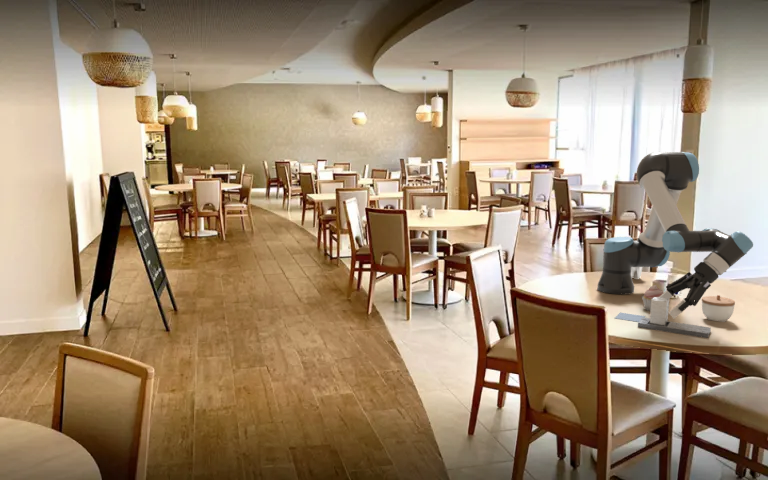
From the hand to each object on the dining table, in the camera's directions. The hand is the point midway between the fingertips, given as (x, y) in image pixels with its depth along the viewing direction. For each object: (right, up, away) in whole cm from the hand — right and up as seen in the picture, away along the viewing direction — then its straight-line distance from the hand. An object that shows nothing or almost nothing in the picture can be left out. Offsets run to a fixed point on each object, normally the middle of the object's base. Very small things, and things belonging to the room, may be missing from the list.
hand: (663, 310), depth 217 cm
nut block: (-1, -6, +2) cm, 6 cm away
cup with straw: (+23, +6, +81) cm, 84 cm away
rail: (+3, -7, -1) cm, 8 cm away
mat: (-6, -5, +14) cm, 16 cm away
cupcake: (+8, -3, +26) cm, 27 cm away
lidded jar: (+25, -5, +12) cm, 28 cm away
